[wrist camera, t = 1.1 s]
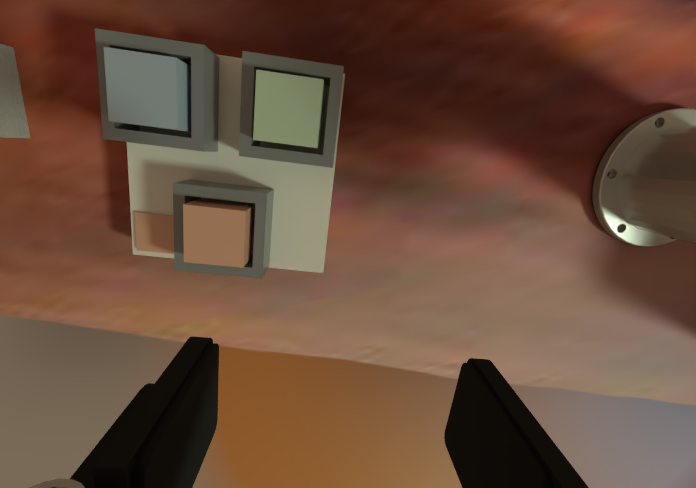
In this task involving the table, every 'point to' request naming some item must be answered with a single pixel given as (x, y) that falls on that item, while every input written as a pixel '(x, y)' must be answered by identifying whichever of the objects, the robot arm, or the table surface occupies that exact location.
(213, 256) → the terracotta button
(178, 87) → the slate button
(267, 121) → the sage button
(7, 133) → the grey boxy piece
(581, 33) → the table surface
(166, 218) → the button panel
